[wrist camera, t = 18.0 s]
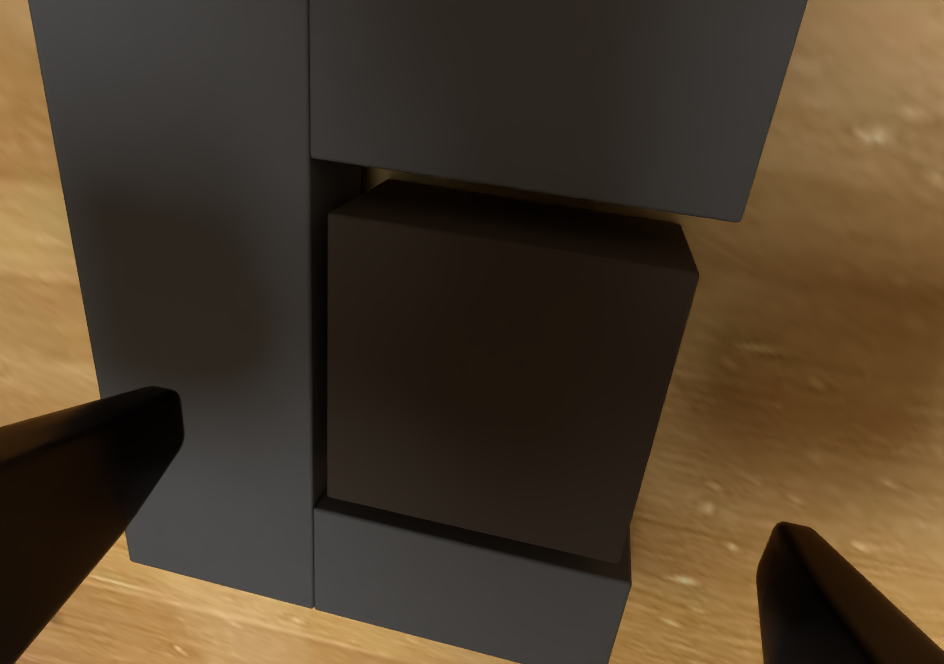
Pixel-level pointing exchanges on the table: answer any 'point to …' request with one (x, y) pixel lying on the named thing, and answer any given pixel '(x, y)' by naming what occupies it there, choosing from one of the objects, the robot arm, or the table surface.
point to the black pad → (500, 361)
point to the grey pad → (306, 249)
